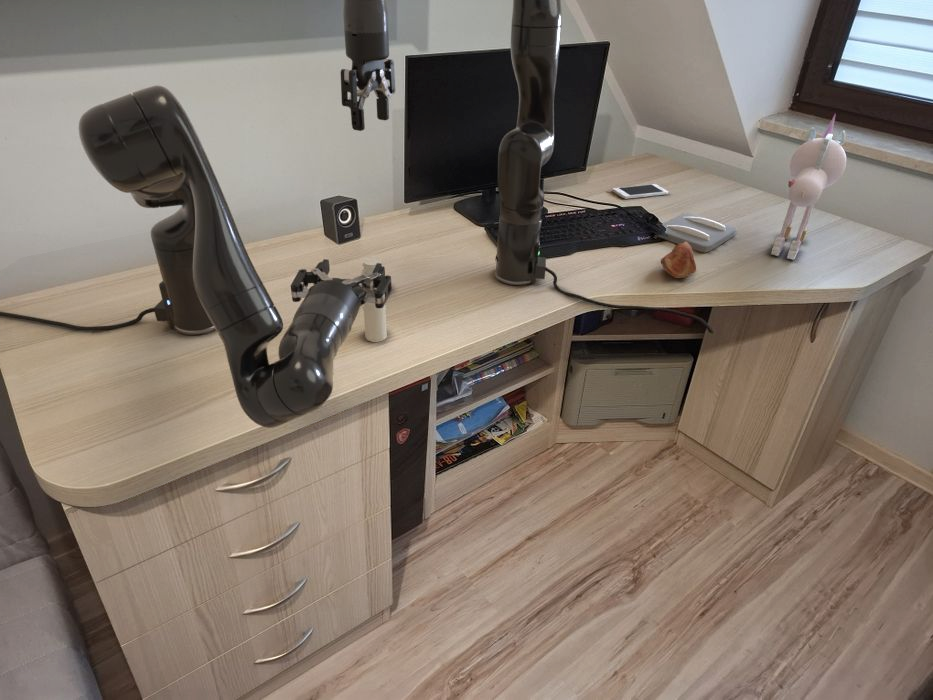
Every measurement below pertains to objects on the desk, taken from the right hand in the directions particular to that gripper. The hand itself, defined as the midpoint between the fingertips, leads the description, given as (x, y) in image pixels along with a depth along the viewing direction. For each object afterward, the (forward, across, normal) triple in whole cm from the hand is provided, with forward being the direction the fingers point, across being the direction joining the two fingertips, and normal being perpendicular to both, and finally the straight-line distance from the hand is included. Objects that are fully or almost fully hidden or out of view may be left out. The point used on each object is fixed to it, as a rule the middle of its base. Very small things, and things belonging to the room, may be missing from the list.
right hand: (371, 124), depth 118 cm
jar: (+35, +16, +9) cm, 39 cm away
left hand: (+14, +27, +13) cm, 33 cm away
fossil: (+35, -40, +56) cm, 77 cm away
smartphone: (+35, -90, +37) cm, 103 cm away
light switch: (+35, -65, +57) cm, 93 cm away
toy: (+35, -75, +80) cm, 115 cm away
